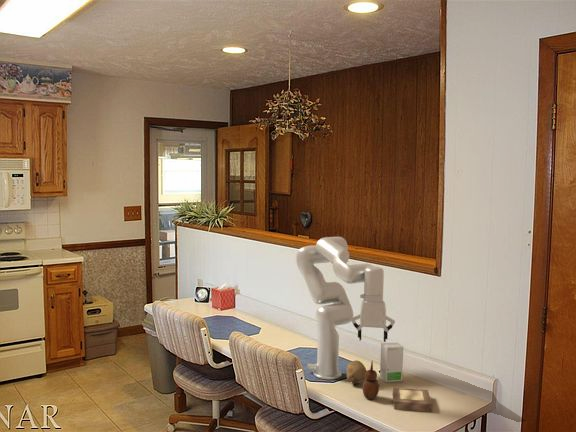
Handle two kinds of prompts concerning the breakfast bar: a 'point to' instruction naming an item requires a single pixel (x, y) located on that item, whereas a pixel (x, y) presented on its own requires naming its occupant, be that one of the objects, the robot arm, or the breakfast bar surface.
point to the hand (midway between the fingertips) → (372, 340)
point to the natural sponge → (355, 371)
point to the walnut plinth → (412, 399)
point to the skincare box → (391, 362)
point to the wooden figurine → (370, 384)
